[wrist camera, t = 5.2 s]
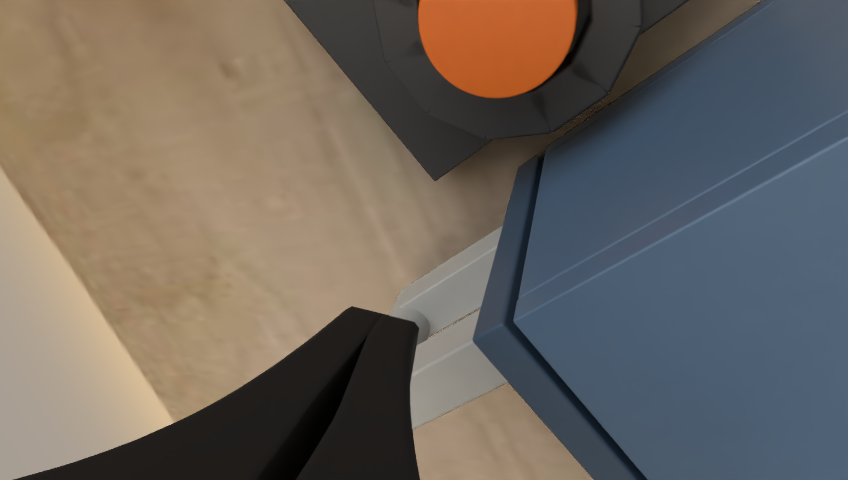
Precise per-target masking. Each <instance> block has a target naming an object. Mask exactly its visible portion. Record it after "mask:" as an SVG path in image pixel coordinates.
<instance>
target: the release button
mask: <svg viewBox="0 0 848 480" xmlns="http://www.w3.org/2000/svg"><path fill="white" fill-rule="evenodd" d="M577 15H578V0H420V1H419V9H418V25H419V33H420V37H421V41H422V44H423V47H424V49H425V52H426V54H427V56H428V57H429V59H430V61H431V63H432V64H433V65H434V67H435V68H436V70H437V71H438V72H439V73H440V74H441V75H442V76H443V77H444V78H445V79H446V80H447V81H449V82H450V83H451V84H453V85H454V86H456V87H457V88H459V89H461V90H463V91H465V92H467V93H470V94H473V95H476V96H480V97H485V98H508V97H513V96H517V95H520V94H523V93H526V92H528V91H530V90H532V89H534V88H536V87H537V86H539V85H541V84H542V83H543V82H545V81H546V80H547V79H548V78H549V77H551V76H552V74H553V73H554V72H555V71H556V70H557V69H558V68H559V66H560V65H561V64H562V62H563V61H564V59H565V57H566V55H567V53H568V52H569V49H570V47H571V44H572V42H573V38H574V34H575V30H576V22H577Z"/></svg>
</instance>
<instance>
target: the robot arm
mask: <svg viewBox="0 0 848 480" xmlns="http://www.w3.org/2000/svg"><path fill="white" fill-rule="evenodd" d="M418 334H419V327H418V326H417V324H416V323H415V322H413V321H409V320H405V319H401V318H397V317H393V316H389V315H385V314H381V313H377V312H373V311H369V310H365V309H361V308H357V307H353V306H352V307H350V308H348V309H346V310H345V311H344V312H342V313H341V314H340V315H339V316H338V317H336V318H335V319H334V320H333V321H332V322H330V323H329V324H328V325H327V326H326V327H324V328H323V329H322V330H321V331H319V332H318V333H317V334H316V335H314V336H313V337H312V338H310V339H309V340H308V341H307V342H305V343H304V344H303V345H301V346H300V347H299V348H297V349H296V350H295V351H293V352H292V353H290V354H289V355H288V356H286V357H285V358H284V359H282V360H281V361H280V362H278V363H277V364H275V365H274V366H272V367H271V368H269V369H268V370H266V371H265V372H263V373H262V374H260V375H259V376H257V377H256V378H254V379H253V380H251V381H250V382H248V383H246V384H245V385H243V386H242V387H240V388H239V389H237V390H235V391H234V392H232V393H230V394H229V395H227V396H225V397H224V398H222V399H220V400H218V401H216V402H215V403H213V404H211V405H209V406H207V407H205V408H204V409H202V410H200V411H198V412H196V413H194V414H192V415H190V416H188V417H186V418H184V419H182V420H180V421H178V422H175V423H173V424H171V425H169V426H166V427H164V428H162V429H160V430H157V431H155V432H153V433H151V434H148V435H147V436H144V437H142V438H140V439H137V440H135V441H132V442H130V443H127V444H124V445H121V446H119V447H116V448H114V449H111V450H108V451H106V452H103V453H100V454H97V455H94V456H91V457H88V458H85V459H82V460H79V461H77V462H73V463H70V464H67V465H64V466H60V467H57V468H54V469H50V470H46V471H43V472H39V473H36V474H32V475H28V476H25V477H22V478H18V479H14V480H420V477H419V472H418V466H417V461H416V454H415V447H414V440H413V430H412V421H411V406H410V383H411V376H412V370H413V364H414V358H415V352H416V346H417V340H418Z"/></svg>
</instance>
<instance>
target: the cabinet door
mask: <svg viewBox="0 0 848 480" xmlns="http://www.w3.org/2000/svg"><path fill="white" fill-rule="evenodd" d="M543 162H544V161H543V160H542V159H541V158H540V156H538V155H537V156H535V157H533V158H532V159H530V160H529V161H527V162H526V163H524V164H523V165H521V166H520V167H519V168H518V171H517V175H516V179H515V182H514V186H513V190H512V193H511V197H510V201H509V205H508V208H507V212H506V216H505V219H504V223H503V225H502V226H501V227H499V228H498V229H496V230H495V231H493V232H491V233H490V234H488V235H487V236H485V237H484V238H482V239H480V240H479V241H477V242H476V243H474V244H473V245H471V246H469V247H468V248H466V249H465V250H463V251H462V252H460V253H458V254H457V255H455V256H454V257H452V258H451V259H449V260H447V261H446V262H444V263H443V264H441V265H440V266H438V267H436V268H435V269H433V270H432V271H430V272H429V273H427V274H425V275H424V276H422V277H421V278H419V279H418V280H416V281H414V282H413V283H411V284H410V285H408V286H407V287H405V288H404V289H403V290H402V291H401V292H400V293H399V295H398V297H397V299H396V301H395V303H394V305H393V307H392V310H391V312H390V314H389V316H393V317H397V318H401V319H405V320H409V321H413V322H415V323H416V324H417V326H418V327H419V334H418V340H417V346H416V352H415V358H414V364H413V370H412V376H411V383H410V406H411V421H412V430H414V429H416V428H418V427H420V426H422V425H424V424H426V423H428V422H430V421H432V420H434V419H436V418H438V417H440V416H442V415H444V414H446V413H448V412H450V411H452V410H454V409H456V408H458V407H460V406H462V405H464V404H466V403H468V402H470V401H472V400H474V399H476V398H478V397H480V396H482V395H484V394H486V393H488V392H490V391H492V390H494V389H496V388H498V387H500V386H502V385H504V384H506V383H508V382H509V384H510V385H511V386H512V387H513V388H514V389H515V390H516V392H517V393H518V394H519V395H520V396H521V397H522V398H523V399H524V401H525V402H526V403H527V404H528V405H529V406H530V407H531V409H532V410H533V411H534V412H535V413H536V414H537V415H538V417H539V418H540V419H541V420H542V421H543V422H544V423H545V425H546V426H547V427H548V428H549V429H550V430H551V431H552V432H553V434H554V435H555V436H556V437H557V438H558V439H559V440H560V442H561V443H562V444H563V445H564V446H565V447H566V448H567V450H568V451H569V452H570V453H571V454H572V455H573V456H574V458H575V459H576V460H577V461H578V462H579V463H580V464H581V466H582V467H583V468H584V469H585V470H586V471H587V472H588V473H589V475H590V476H591V477H592V478H593V479H594V480H648V479H647V478H646V477H645V476H644V475H643V474H642V472H641V471H640V470H639V469H638V468H637V467H636V465H635V464H634V463H633V462H632V461H631V459H630V458H629V457H628V456H627V455H626V454H625V452H624V451H623V450H622V449H621V448H620V447H619V445H618V444H617V443H616V442H615V441H614V440H613V438H612V437H611V436H610V435H609V434H608V432H607V431H606V430H605V429H604V428H603V427H602V425H601V424H600V423H599V422H598V421H597V420H596V418H595V417H594V416H593V415H592V414H591V412H590V411H589V410H588V409H587V408H586V407H585V405H584V404H583V403H582V402H581V401H580V400H579V398H578V397H577V396H576V395H575V394H574V392H573V391H572V390H571V389H570V388H569V387H568V385H567V384H566V383H565V382H564V381H563V380H562V378H561V377H560V376H559V375H558V374H557V373H556V371H555V370H554V369H553V368H552V367H551V365H550V364H549V363H548V362H547V361H546V360H545V358H544V357H543V356H542V355H541V354H540V353H539V351H538V350H537V349H536V348H535V347H534V345H533V344H532V343H531V342H530V341H529V340H528V338H527V337H526V336H525V335H524V334H523V333H522V331H521V330H520V329H519V328H518V327H517V325H516V324H515V323H514V321H513V320H514V314H515V309H516V304H517V300H518V299H519V297H518V296H519V291H520V286H521V280H522V275H523V270H524V264H525V259H526V253H527V248H528V243H529V237H530V232H531V227H532V221H533V216H534V211H535V205H536V200H537V194H538V189H539V184H540V178H541V173H542V168H543ZM480 307H481V309H479V308H480ZM477 309H479V310H478V311H476V312H474V313H472V312H473V311H475V310H477ZM470 313H472V314H471V315H469V316H467V317H466V318H464V319H462V320H460V319H461V318H463V317H465V316H466V315H468V314H470ZM458 320H460V321H459V322H457V323H455V324H453V323H454V322H456V321H458ZM451 324H453V325H452V326H450V327H448V328H446V327H447V326H449V325H451ZM444 328H446V329H445V330H443V331H441V330H442V329H444ZM439 331H441V332H440V333H438V334H436V335H434V334H435V333H437V332H439ZM432 335H434V336H433V337H431V338H429V339H428V337H430V336H432Z"/></svg>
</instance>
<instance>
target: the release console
mask: <svg viewBox="0 0 848 480" xmlns="http://www.w3.org/2000/svg"><path fill="white" fill-rule="evenodd" d="M284 1H285V2H286V3H287V4H288V5H289V7H290V8H291V9H292V10H293V12H294V13H295V14H296V15H297V16H298V18H299V19H300V20H301V21H302V22H303V24H304V25H305V26H306V27H307V28H308V30H309V31H310V32H311V33H312V34H313V36H314V37H315V38H316V39H317V40H318V42H319V43H320V44H321V45H322V46H323V48H324V49H325V50H326V51H327V52H328V54H329V55H330V56H331V57H332V58H333V60H334V61H335V62H336V63H337V64H338V66H339V67H340V68H341V69H342V70H343V72H344V73H345V74H346V75H347V76H348V78H349V79H350V80H351V81H352V82H353V84H354V85H355V86H356V87H357V88H358V90H359V91H360V92H361V93H362V94H363V96H364V97H365V98H366V99H367V100H368V102H369V103H370V104H371V105H372V106H373V108H374V109H375V110H376V111H377V112H378V114H379V115H380V116H381V117H382V118H383V120H384V121H385V122H386V123H387V124H388V126H389V127H390V128H391V129H392V130H393V132H394V133H395V134H396V135H397V136H398V138H399V139H400V140H401V141H402V142H403V144H404V145H405V146H406V147H407V148H408V150H409V151H410V152H411V153H412V154H413V156H414V157H415V158H416V159H417V161H418V162H419V163H420V164H421V165H422V167H423V168H424V169H425V170H426V171H427V173H428V174H429V175H430V176H431V177H432V179H433V180H434V181H436V180H438V179H439V178H440V177H442V176H443V175H445V174H446V173H447V172H449V171H450V170H452V169H453V168H454V167H456V166H457V165H459V164H460V163H461V162H463V161H464V160H466V159H467V158H468V157H470V156H471V155H473V154H474V153H475V152H477V151H478V150H480V149H481V148H482V147H484V146H485V145H487V144H488V143H489V142H491V141H492V140H494V139H501V138H510V137H520V136H530V135H540V134H549V133H551V132H554V131H556V130H557V129H559V128H560V127H562V126H563V125H564V124H566V123H567V122H569V121H570V120H572V119H573V118H575V117H576V116H578V115H579V114H580V113H582V112H583V111H585V110H586V109H588V108H589V107H591V106H592V105H594V104H595V103H597V102H598V101H599V100H601V99H602V98H604V97H605V96H607V94H608V92H610V91H611V90H612V88H613V86H614V84H615V82H616V80H617V78H618V76H619V74H620V72H621V70H622V68H623V66H624V64H625V62H626V60H627V58H628V56H629V54H630V52H631V50H632V48H633V46H634V45H635V43H636V41H637V39H638V37H639V35H641V34H642V33H644V32H645V31H646V30H648V29H649V28H651V27H652V26H653V25H655V24H656V23H658V22H659V21H660V20H662V19H663V18H665V17H666V16H667V15H669V14H670V13H672V12H673V11H674V10H676V9H677V8H679V7H680V6H681V5H683V4H684V3H686V2H687V1H688V0H578V15H577V22H576V30H575V34H574V38H573V42H572V44H571V47H570V49H569V52H568V53H567V55H566V57H565V59H564V61H563V62H562V64H561V65H560V66H559V68H558V69H557V70H556V71H555V72H554V73H553V74H552V76H551V77H549V78H548V79H547V80H546V81H545V82H543V83H542V84H541V85H539V86H537V87H536V88H534V89H532V90H530V91H528V92H526V93H523V94H520V95H517V96H513V97H508V98H485V97H480V96H476V95H473V94H470V93H467V92H465V91H463V90H461V89H459V88H457V87H456V86H454V85H453V84H451V83H450V82H449V81H447V80H446V79H445V78H444V77H443V76H442V75H441V74H440V73H439V72H438V71H437V70H436V68H435V67H434V65H433V64H432V63H431V61H430V59H429V57H428V56H427V54H426V52H425V49H424V47H423V44H422V41H421V37H420V33H419V25H418V9H419V1H420V0H284Z"/></svg>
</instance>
